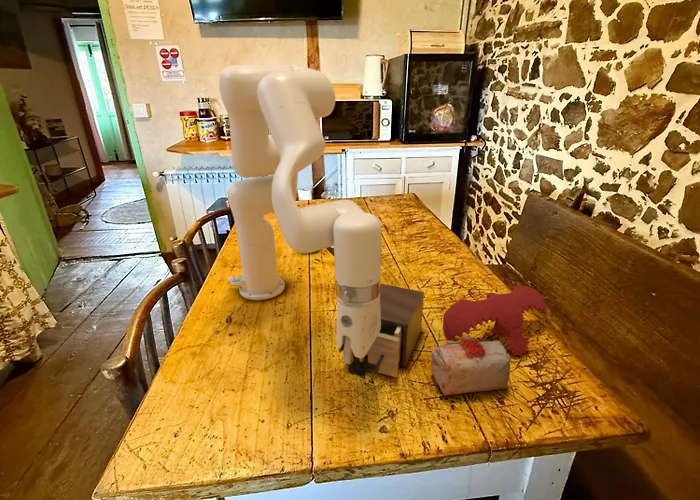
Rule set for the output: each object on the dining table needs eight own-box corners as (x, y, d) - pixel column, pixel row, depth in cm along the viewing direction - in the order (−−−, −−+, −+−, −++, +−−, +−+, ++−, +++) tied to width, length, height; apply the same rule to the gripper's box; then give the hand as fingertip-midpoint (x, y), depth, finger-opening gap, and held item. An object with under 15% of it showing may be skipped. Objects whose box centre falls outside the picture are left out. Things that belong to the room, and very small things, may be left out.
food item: (440, 401, 73) (445, 359, 69) (427, 372, 80) (430, 332, 76) (510, 394, 75) (518, 352, 71) (491, 365, 82) (498, 326, 78)
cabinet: (405, 367, 82) (407, 324, 77) (349, 352, 86) (348, 311, 82) (421, 330, 93) (424, 291, 89) (371, 319, 98) (371, 281, 93)
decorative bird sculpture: (549, 344, 95) (525, 284, 99) (580, 339, 86) (552, 274, 90) (449, 376, 85) (428, 309, 89) (473, 374, 77) (447, 300, 81)
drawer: (389, 393, 74) (390, 355, 70) (334, 377, 78) (332, 340, 75) (412, 340, 88) (414, 307, 85) (365, 329, 92) (365, 297, 89)
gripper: (362, 314, 58) (362, 407, 66) (393, 271, 71) (390, 353, 78) (316, 304, 61) (322, 394, 69) (354, 264, 73) (355, 344, 81)
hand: (358, 372), depth 73 cm, fingers closed
